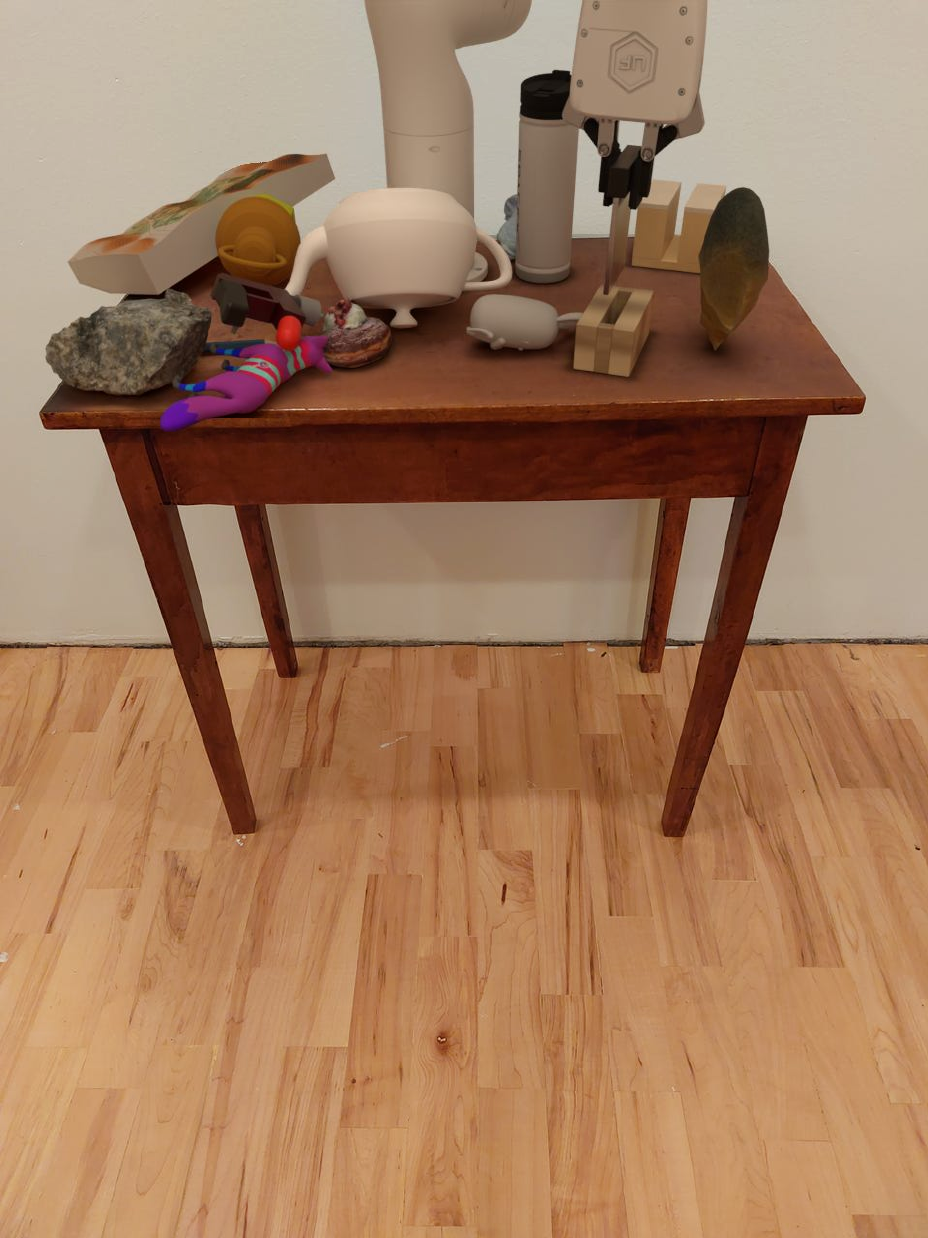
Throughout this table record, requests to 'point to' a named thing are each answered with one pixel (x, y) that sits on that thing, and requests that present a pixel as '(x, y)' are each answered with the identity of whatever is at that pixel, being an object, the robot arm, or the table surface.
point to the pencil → (237, 344)
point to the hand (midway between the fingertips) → (622, 201)
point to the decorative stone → (732, 263)
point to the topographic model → (191, 227)
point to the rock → (131, 345)
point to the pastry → (353, 336)
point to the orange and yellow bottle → (258, 239)
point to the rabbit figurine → (517, 322)
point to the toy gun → (265, 308)
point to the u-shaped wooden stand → (673, 226)
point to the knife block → (613, 330)
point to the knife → (619, 214)
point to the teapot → (398, 251)
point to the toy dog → (243, 381)
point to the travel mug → (545, 179)
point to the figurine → (509, 228)
